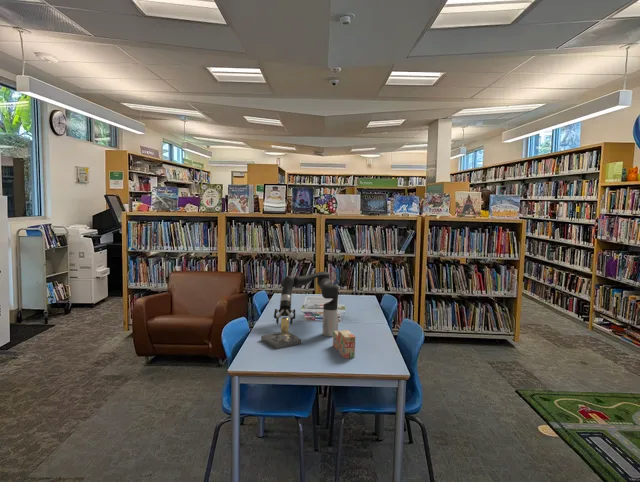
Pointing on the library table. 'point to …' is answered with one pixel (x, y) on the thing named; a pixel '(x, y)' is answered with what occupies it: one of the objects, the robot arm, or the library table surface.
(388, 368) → the library table surface
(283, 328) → the brass sleeve
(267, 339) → the plate
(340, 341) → the stack of blocks
